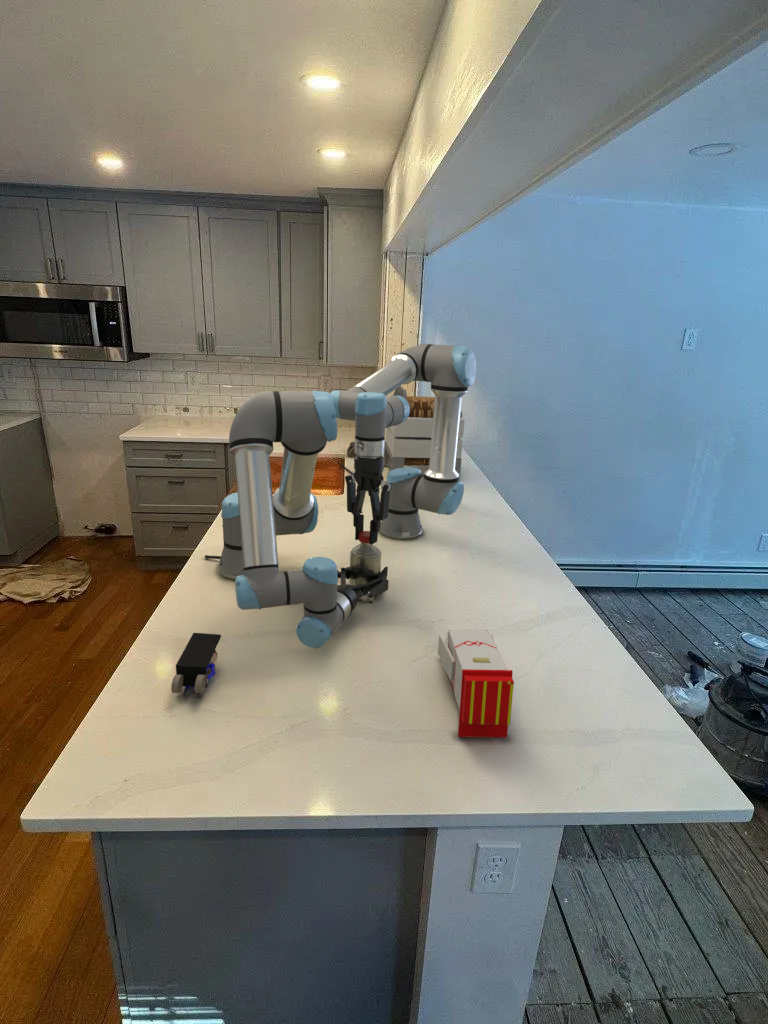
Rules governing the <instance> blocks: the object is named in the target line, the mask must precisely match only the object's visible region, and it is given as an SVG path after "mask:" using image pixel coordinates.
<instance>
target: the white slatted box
mask: <svg viewBox="0 0 768 1024" xmlns="http://www.w3.org/2000/svg"><path fill="white" fill-rule="evenodd" d="M407 394H408V393H407V390H406V389H404V388H403V387H402V385H401V386H399V387H398V388H397V389H395V390H394V391H393V394H392V395H394V396H401V397H403V398H405V399H406V400H407V402H408V404H409V407H410V413H409V416H408V418H407V419H406V420H405V421H404V422H402V423H400V424H399V425H396V426H395V425H394V426H391V427H387V428H385V447H384V454H383V457H384V467H388V468H389V472H390V471H391V470H393V469H397V468H405V466H406V467H409V466H411V467H417V466H418V467H429V462H430V449H431V437H432V425H433V413H434V401H435V396H415V395H414V396H413V395H412V396H411V395H407ZM464 429H465V419H464V418H463V411H461V413H460V423H459V433H458V444H457V454H456V464H455V471H456V472H457V473H458V474H459V482H461V472H462V461H463V460H462V453H463V442H464V441H463V440H462V439H463V438H464V431H465V430H464Z"/></svg>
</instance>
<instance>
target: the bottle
mask: <svg viewBox="0 0 768 1024" xmlns="http://www.w3.org/2000/svg"><path fill="white" fill-rule="evenodd" d="M349 566H350V578H349V584H350V585H353V586H356V585H359V584H365V583H368V582H370V581H373V580H375V579H377V576H378V575H379V573H380V572H381V571H382V570H381V569H382V567H381V566H382V551H381V550H380V548H379V547H377V546H375V545H374V544H372V545H371V544H369V543H362V542H360V543H359V544H357V545H355V546H354V547H352V548H351V550H350V555H349ZM379 597H380V596H379ZM379 597H377V598H376V599H375V600H374V601H376V600H378V599H379ZM360 603H368V601H367V600H362V601H361V602H360Z"/></svg>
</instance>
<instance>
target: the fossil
mask: <svg viewBox="0 0 768 1024" xmlns="http://www.w3.org/2000/svg"><path fill="white" fill-rule="evenodd" d="M355 455H357V454H355V441H351V442H350V443H349V446H348V447H347V450H346V456H347V457H348V458H352V457H353V458H354V456H355Z"/></svg>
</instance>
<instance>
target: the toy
mask: <svg viewBox="0 0 768 1024" xmlns="http://www.w3.org/2000/svg"><path fill="white" fill-rule="evenodd" d="M446 640H447V643H446V641H445V639H444V636H443V635H442V634H439V637H438V646H437V656H438V657H439V659H440V661H441V663H442V666H443V668H444V670H445V672H446V674H447V677H448V679H449V681H450V684H451V687H452V690H453V693H454V697H455V701H456V705H457V708H458V711H459V714H458V715H459V716H458V730H457V731H458V732H457V737H458V738H508V731H509V726H510V725H511V717H512V707H513V697H514V696H513V695H514V684H515V680H514V679H513V673H514V671H513V670H512V669H508V667H507V665H506V662H505V661H504V659H503V658H502V655H501V653H500V651H499V649H498V647H497V643H496V639H495V637H494V635H493V634H491V632H490V631H489V629H467V628H466V629H465V628H463V629H461V628H460V629H459V628H448V630H447V639H446Z"/></svg>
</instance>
